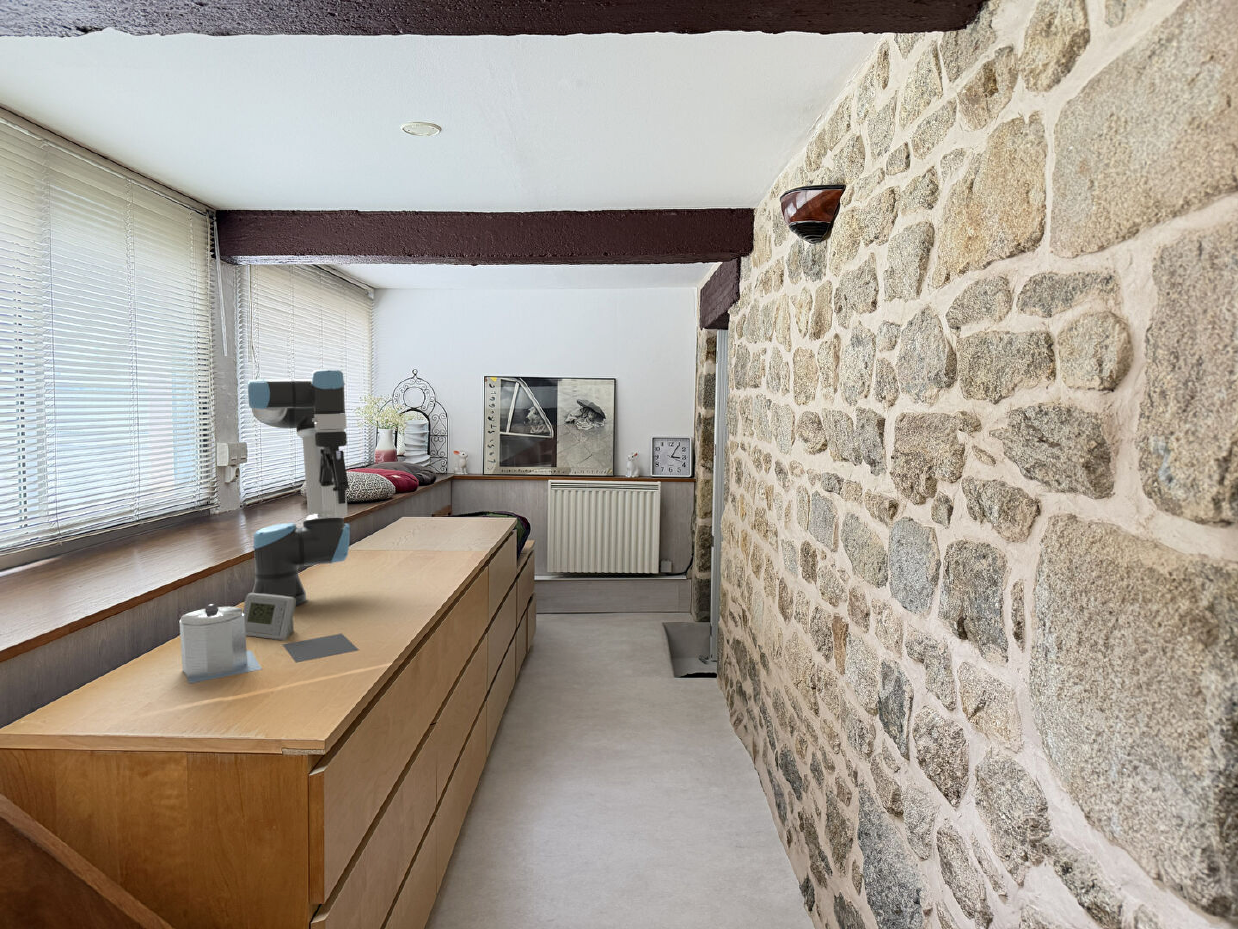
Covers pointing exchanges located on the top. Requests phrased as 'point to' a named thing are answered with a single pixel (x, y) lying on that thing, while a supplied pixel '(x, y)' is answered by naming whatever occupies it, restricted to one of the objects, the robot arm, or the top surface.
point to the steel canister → (213, 641)
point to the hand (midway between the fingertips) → (334, 513)
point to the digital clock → (269, 615)
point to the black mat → (319, 647)
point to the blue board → (250, 666)
